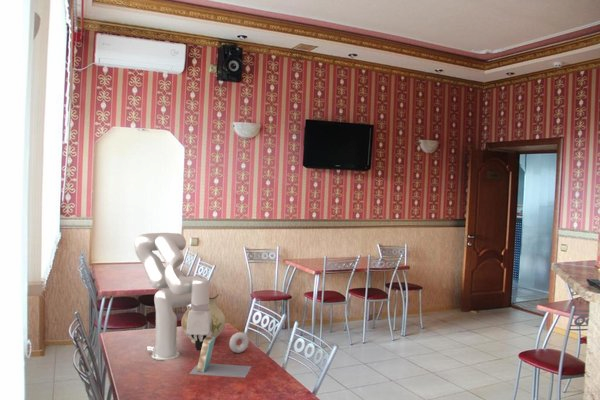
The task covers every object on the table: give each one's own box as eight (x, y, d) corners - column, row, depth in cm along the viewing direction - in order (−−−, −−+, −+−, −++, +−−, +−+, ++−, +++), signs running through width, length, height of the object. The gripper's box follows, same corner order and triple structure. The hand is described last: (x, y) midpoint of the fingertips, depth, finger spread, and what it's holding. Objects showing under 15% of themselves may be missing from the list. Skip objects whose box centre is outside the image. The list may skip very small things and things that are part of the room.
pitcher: (213, 349, 252) (214, 298, 252) (170, 344, 259) (171, 294, 259) (231, 337, 274) (233, 290, 274) (191, 333, 280) (193, 287, 280)
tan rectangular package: (196, 370, 219) (203, 341, 218) (202, 363, 228) (208, 335, 227) (203, 372, 219) (209, 342, 218) (209, 365, 228) (215, 337, 227)
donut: (230, 355, 244) (231, 334, 244) (227, 353, 247) (228, 332, 247) (249, 352, 249) (250, 331, 249) (246, 350, 252) (247, 330, 252)
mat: (188, 374, 217) (189, 373, 217) (198, 363, 231) (198, 362, 231) (245, 378, 214) (245, 377, 214) (251, 367, 228) (251, 366, 228)
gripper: (180, 308, 220) (179, 351, 220) (214, 310, 218) (213, 353, 218) (186, 304, 227) (185, 346, 228) (219, 306, 226) (218, 348, 226)
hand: (199, 349), depth 223 cm, fingers closed
